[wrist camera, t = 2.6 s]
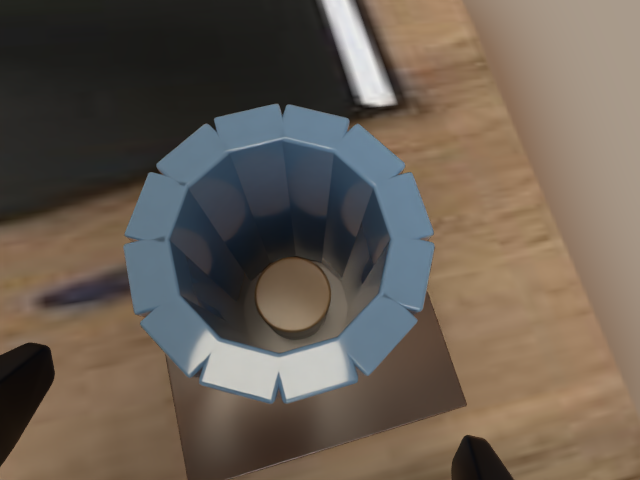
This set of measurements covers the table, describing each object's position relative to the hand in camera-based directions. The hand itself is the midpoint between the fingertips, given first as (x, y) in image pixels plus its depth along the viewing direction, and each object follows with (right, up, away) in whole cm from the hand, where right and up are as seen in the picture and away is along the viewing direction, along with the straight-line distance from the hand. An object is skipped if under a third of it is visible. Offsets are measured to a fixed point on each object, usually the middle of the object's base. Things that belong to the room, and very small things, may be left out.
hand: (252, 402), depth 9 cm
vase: (0, +1, +9) cm, 9 cm away
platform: (0, 0, +11) cm, 11 cm away
